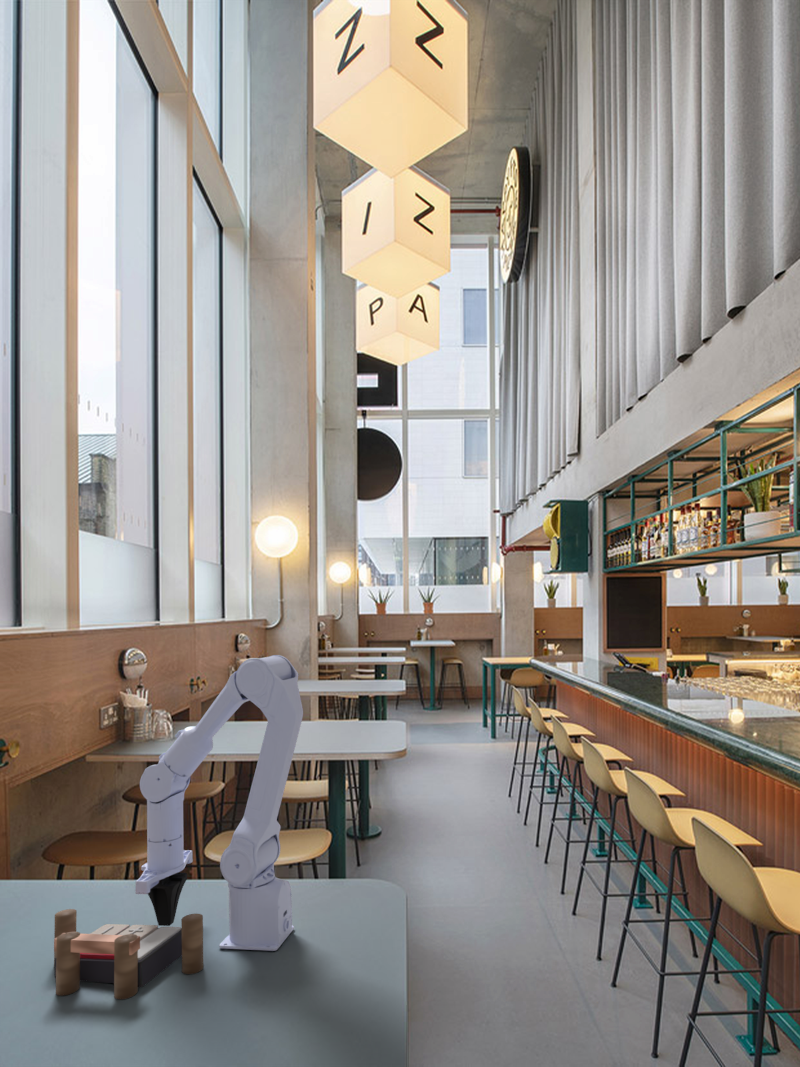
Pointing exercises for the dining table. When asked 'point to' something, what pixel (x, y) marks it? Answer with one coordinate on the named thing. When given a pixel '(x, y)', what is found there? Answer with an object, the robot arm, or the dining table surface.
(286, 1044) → the dining table surface
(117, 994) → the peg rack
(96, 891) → the dining table surface
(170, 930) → the calculator
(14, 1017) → the dining table surface
